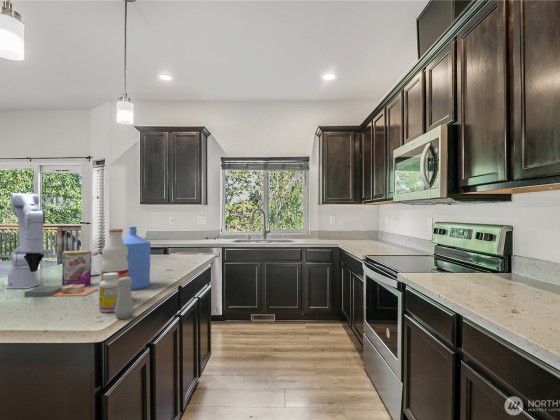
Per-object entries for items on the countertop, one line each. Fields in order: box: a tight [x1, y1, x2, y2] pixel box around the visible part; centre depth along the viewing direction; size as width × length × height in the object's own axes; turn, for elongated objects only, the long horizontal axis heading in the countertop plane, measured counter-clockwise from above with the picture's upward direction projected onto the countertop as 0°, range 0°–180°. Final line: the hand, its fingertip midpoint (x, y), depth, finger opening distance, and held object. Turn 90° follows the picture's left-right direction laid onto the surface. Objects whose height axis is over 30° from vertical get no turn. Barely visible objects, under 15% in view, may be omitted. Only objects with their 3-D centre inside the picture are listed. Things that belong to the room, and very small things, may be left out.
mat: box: [51, 288, 99, 297], centre depth 133 cm, size 13×11×1 cm
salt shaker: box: [114, 277, 135, 320], centre depth 102 cm, size 6×6×13 cm
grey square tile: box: [24, 284, 67, 298], centre depth 132 cm, size 10×11×2 cm
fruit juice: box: [100, 228, 128, 283], centre depth 122 cm, size 9×9×28 cm
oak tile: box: [62, 284, 86, 294], centre depth 133 cm, size 6×6×2 cm
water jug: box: [122, 226, 151, 291], centre depth 145 cm, size 16×16×28 cm
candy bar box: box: [61, 250, 93, 287], centre depth 145 cm, size 11×5×16 cm, turn 130°
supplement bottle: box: [98, 273, 120, 313], centre depth 110 cm, size 7×7×13 cm
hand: (33, 271), depth 131 cm, fingers closed
